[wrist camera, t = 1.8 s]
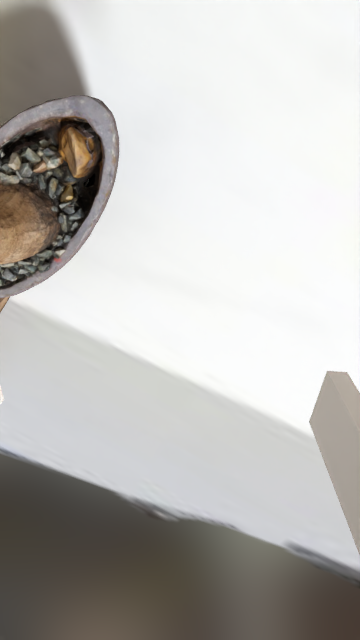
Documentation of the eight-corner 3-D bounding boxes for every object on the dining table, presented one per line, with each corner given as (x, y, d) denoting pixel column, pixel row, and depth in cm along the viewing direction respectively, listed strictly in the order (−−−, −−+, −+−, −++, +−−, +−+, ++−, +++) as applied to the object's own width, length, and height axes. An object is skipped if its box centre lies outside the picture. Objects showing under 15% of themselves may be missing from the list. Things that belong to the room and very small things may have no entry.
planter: (138, 106, 29) (51, 80, 12) (129, 281, 37) (72, 417, 20) (-35, 81, 29) (-385, 18, 11) (-4, 264, 37) (-178, 387, 20)
